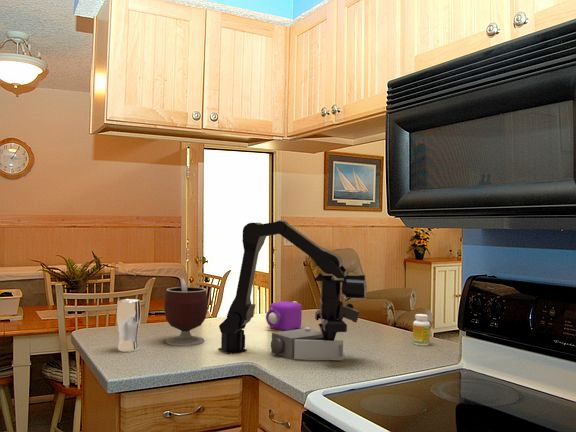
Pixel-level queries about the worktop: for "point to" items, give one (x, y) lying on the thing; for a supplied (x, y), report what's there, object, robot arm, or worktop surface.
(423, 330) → the supplement bottle
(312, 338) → the box
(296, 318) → the toy camera
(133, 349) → the beer glass
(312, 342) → the camera door
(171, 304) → the mate gourd
